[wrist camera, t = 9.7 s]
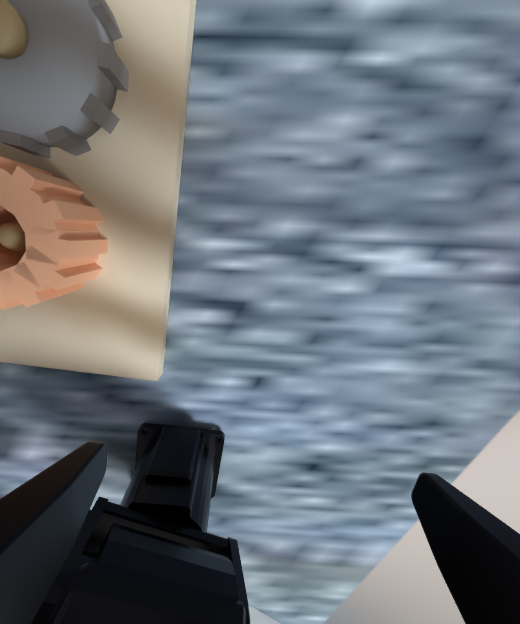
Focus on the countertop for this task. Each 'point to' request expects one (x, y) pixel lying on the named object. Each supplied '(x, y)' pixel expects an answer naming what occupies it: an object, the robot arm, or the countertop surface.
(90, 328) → the gear board
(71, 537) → the robot arm
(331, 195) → the countertop surface
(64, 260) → the coral gear
